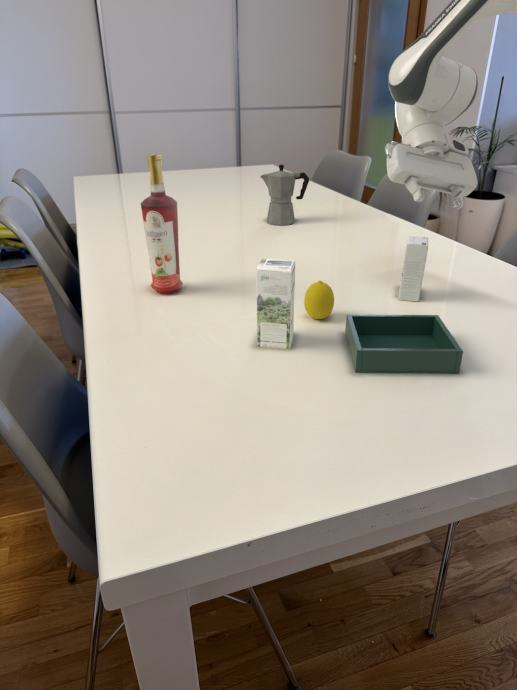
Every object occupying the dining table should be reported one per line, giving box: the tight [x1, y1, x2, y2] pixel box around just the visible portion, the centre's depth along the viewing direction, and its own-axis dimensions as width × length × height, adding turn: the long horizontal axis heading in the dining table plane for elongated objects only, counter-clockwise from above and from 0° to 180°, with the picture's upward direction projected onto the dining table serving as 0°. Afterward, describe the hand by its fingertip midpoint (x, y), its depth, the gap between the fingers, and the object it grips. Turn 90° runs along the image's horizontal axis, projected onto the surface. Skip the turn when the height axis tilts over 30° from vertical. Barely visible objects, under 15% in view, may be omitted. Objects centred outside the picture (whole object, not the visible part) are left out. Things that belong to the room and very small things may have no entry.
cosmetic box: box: [397, 235, 429, 302], centre depth 105 cm, size 6×4×12 cm
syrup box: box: [255, 258, 296, 350], centre depth 85 cm, size 6×6×14 cm
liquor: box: [140, 153, 184, 295], centre depth 106 cm, size 7×7×28 cm
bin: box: [344, 313, 464, 375], centre depth 83 cm, size 16×14×4 cm
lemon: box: [303, 280, 335, 320], centre depth 95 cm, size 6×6×8 cm
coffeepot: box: [260, 164, 310, 226], centre depth 164 cm, size 15×9×18 cm, turn 87°
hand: (439, 203), depth 103 cm, fingers open, 8 cm apart
